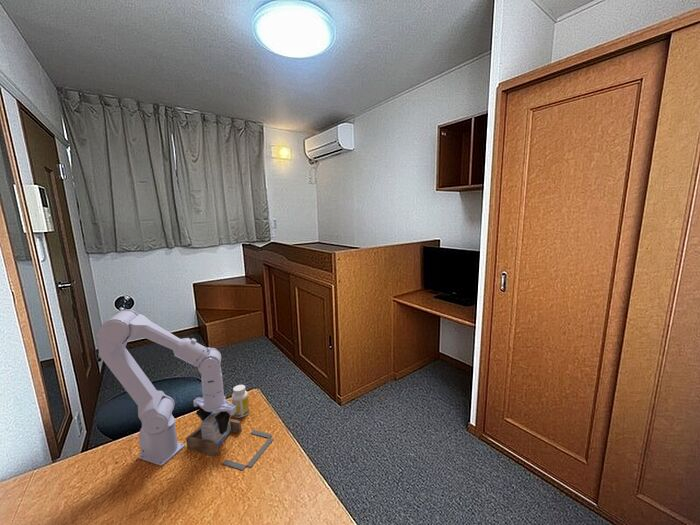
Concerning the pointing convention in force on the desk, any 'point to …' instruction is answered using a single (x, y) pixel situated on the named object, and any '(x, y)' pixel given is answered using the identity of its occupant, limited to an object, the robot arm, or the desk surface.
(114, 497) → the desk surface
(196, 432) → the walnut shelf
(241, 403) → the supplement bottle
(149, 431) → the robot arm
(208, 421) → the medicine box
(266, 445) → the frame
